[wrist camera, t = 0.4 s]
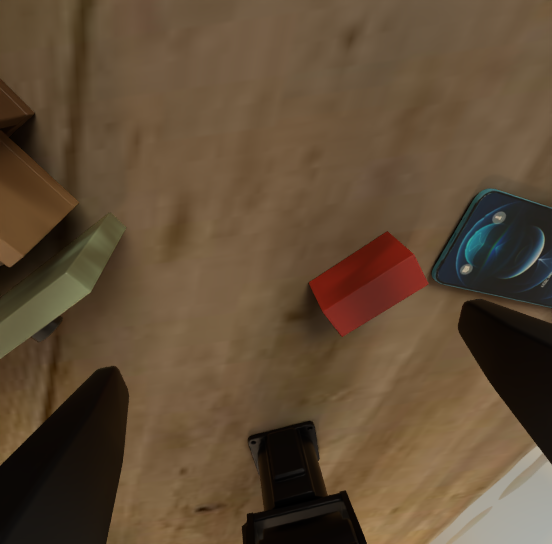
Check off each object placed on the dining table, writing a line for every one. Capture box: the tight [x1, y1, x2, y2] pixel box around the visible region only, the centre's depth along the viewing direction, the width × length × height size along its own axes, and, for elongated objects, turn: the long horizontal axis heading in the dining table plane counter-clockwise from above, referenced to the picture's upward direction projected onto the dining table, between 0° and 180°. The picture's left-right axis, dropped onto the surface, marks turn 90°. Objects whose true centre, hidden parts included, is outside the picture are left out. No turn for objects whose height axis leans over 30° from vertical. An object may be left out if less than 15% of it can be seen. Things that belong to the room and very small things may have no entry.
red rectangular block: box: [309, 231, 428, 337], centre depth 23 cm, size 7×3×4 cm, turn 123°
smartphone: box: [432, 189, 552, 308], centre depth 26 cm, size 8×1×15 cm
